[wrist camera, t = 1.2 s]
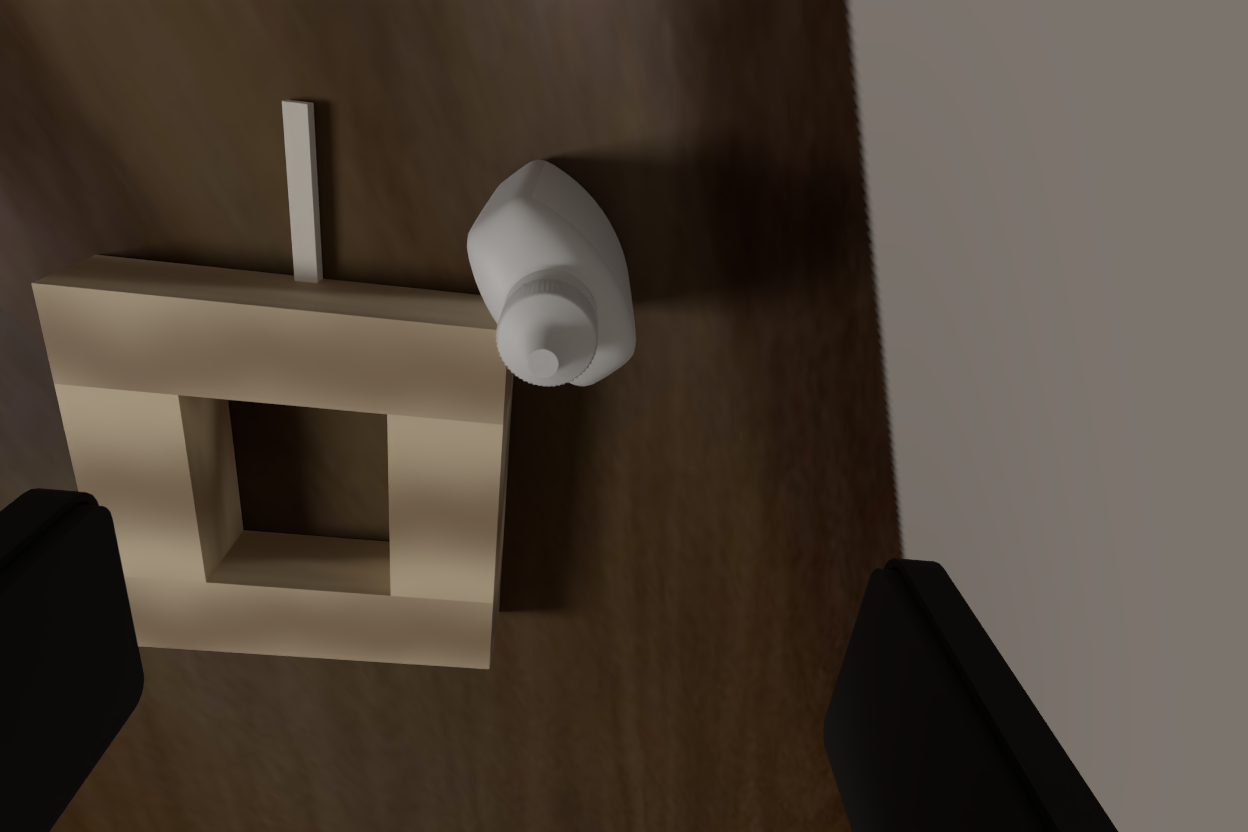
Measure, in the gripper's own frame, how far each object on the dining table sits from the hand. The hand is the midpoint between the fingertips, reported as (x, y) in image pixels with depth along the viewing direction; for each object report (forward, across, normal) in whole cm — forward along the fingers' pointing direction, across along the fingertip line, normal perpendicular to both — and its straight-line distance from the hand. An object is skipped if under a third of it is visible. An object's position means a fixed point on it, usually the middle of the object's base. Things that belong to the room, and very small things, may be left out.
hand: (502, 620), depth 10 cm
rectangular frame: (+20, +9, +10) cm, 24 cm away
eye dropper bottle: (+20, 0, 0) cm, 20 cm away
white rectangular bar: (+20, +9, -1) cm, 22 cm away
